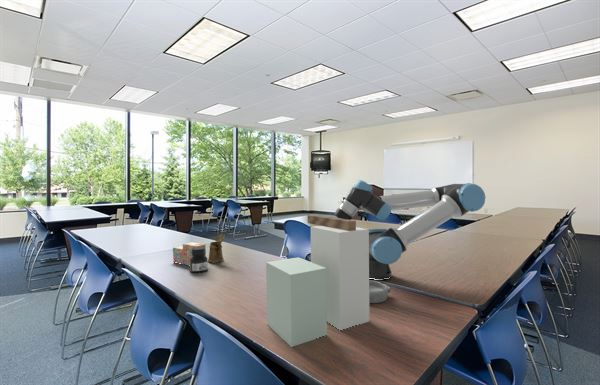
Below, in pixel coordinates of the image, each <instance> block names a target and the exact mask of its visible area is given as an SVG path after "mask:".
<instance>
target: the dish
mask: <svg viewBox="0 0 600 385" xmlns="http://www.w3.org/2000/svg"><path fill="white" fill-rule="evenodd" d="M391 291H392V290H391V287H390V286H388V285H387V284H384V283H382V282H380V281H378V280H369V304H378V303H379V304H380V303H383V302H385V301H387V299H388V296H389V293H391Z"/></svg>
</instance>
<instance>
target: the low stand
mask: <svg viewBox="0 0 600 385" xmlns="http://www.w3.org/2000/svg"><path fill="white" fill-rule="evenodd" d="M265 264H266V265H265V267H266V268H265V269H266V272H265V274H266V276H265V277H266V324H267V326H268V327H269V328H271V330H273V332H275V333H276V335H278V337H280V339H282V340H283V341H284V342H285V343H287V344H288V345H289V346H290V348H293V347H296V346H299V345H301V344H305V343H308V342H312V341H314V340H317V339H320V338H319V337H321V338H323V337H322V336H324V337H326V336H325V335H327V336H328V323H327V296H326V268H325V267H322V266H320V265H317V264H314V263H312V262H311V261H309V260H307V259H304V258H301V257H292V258H285V259H279V260H272V261H271V260H270V261H266V262H265ZM316 338H317V339H316Z"/></svg>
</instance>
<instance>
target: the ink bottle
mask: <svg viewBox="0 0 600 385" xmlns="http://www.w3.org/2000/svg"><path fill="white" fill-rule="evenodd" d="M192 256H193V257H192V258H191V259H190V266H189V272H190V273H192V272H194V273H193V274H199V273H198V272H200V273H203V272H204V271H205V272H207V271H208V269H209V266H208V265H209V264H208V263H209V262H208V257H207V256H205V247H196V248H192ZM205 272H204V273H205Z"/></svg>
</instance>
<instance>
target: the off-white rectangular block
mask: <svg viewBox="0 0 600 385" xmlns="http://www.w3.org/2000/svg"><path fill="white" fill-rule="evenodd" d="M369 229H370V228H364V227H358V226H356V230H352V231H346V230H341V229H336V228H331V227H325V226H320V225H315V226H310V262H312V263H314V264H317V265H320V266H322V267H325V268H326V296H327V322H328V323H327V324H329V323H330V324H331V325H330V324H329V325H330V326H332V325H333V326H334V327H333V326H332V327H333V328H335V327H336V328H337V329H336V328H335V329H336V330H338V329H339V330H338V331H340V330H342V331H344V330H343V329H345V330H347V329H346V328H348V329H350V328H349V327H351V328H353V327H352V326H354V327H356V326H355V325H357V326H360V325H363V324H365V323H369V322H370V303H369ZM359 324H360V325H359Z"/></svg>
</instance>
